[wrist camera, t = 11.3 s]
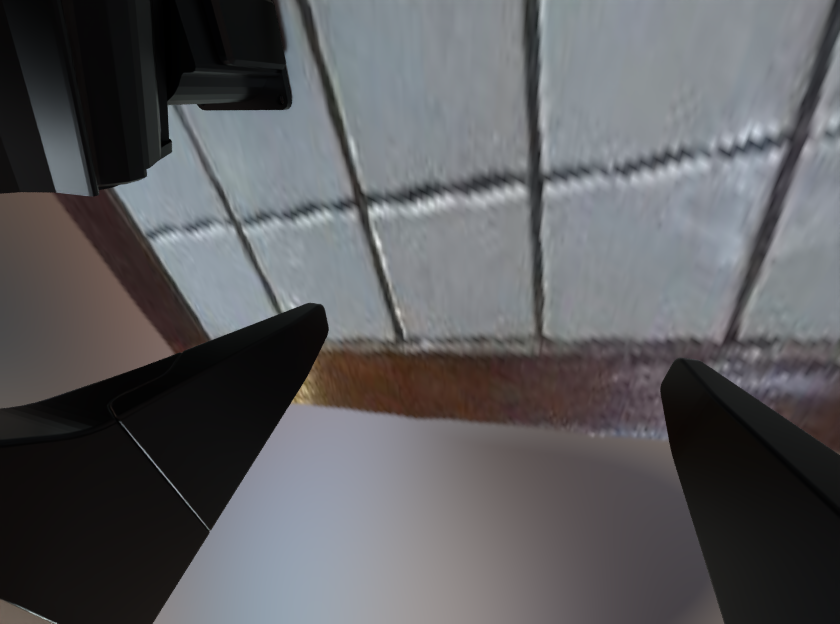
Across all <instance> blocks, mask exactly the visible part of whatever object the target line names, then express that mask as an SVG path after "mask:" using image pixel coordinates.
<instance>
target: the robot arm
mask: <svg viewBox="0 0 840 624" xmlns="http://www.w3.org/2000/svg"><path fill="white" fill-rule="evenodd" d="M285 64H286V63H285V57H284V52H283V47H282V42H281V37H280V32H279V27H278V21H277V16H276V11H275V6H274V4H273V2H272V0H0V193H15V192H57V193H66V194H75V195H85V196H97V195H99V190H102V189H107V188H112V187H115V186H118V185H121V184H128V183H131V182H135V181H139V180H141V179H143V178H145V177H146V176H147V170H146V169H148V168H150V167H151V166H153V165H154V164H155V163H156V162H157V161H159V160H160V159H162V158H163V157H165V156H167V155H168V154H170V153H171V152H172V141H171V139H169V127H168V106H167V105H183V104H197V105H198V106H199V108H201V109H202V110H286V109H289V108H290V107H291V104H292V99H291V94H290V89H289V84H288V78H287V73H286V68H285ZM281 95H282V97H283V99H284V103H282V102H281V100H280V96H281ZM328 331H329V327H328V322H327V317H326V313H325V309H324V307H323V305H321V304H315V303H307V304H304V305H302V306H299V307H296V308H294V309H291V310H289V311H286V312H284V313H281V314H278V315H276V316H273V317H271V318H268V319H265V320H263V321H260V322H258V323H255V324H252V325H250V326H247V327H245V328H242V329H240V330H237V331H234V332H232V333H229V334H227V335H224V336H221V337H219V338H216V339H214V340H211V341H208V342H206V343H203V344H201V345H198V346H196V347H193V348H190V349H188V350H185V351H183V353H177V354H175V355H172V356H170V357H167V358H164V359H162V360H159V361H156V362H154V363H151V364H148V365H146V366H143V367H140V368H137V369H134V370H132V371H129V372H126V373H123V374H120V375H117V376H114V377H112V378H108V379H106V380H102V381H100V382H97V383H93V384H90V385H87V386H84V387H81V388H79V389H75V390H72V391H70V392H67V393H64V394H61V395H58V396H55V397H52V398H49V399H45V400H42V401H39V402H35V403H31V404H27V405H23V406H16V407H10V408H1V409H0V624H153V622H154V621H155V619H156V617H157V616H158V614H159V613H160V611H161V609H162V608H163V606H164V605H165V603H166V601H167V600H168V598H169V597H170V595H171V593H172V592H173V590H174V589H175V587H176V585H177V584H178V582H179V581H180V579H181V577H182V576H183V574H184V573H185V571H186V569H187V568H188V566H189V565H190V563H191V562H192V560H193V558H194V557H195V555H196V554H197V552H198V550H199V549H200V547H201V546H202V544H203V543H204V541H205V539H206V538H207V536H208V535H209V531H210V530H211V529H212V528H213V526H214V525H215V523H216V521H217V520H218V518H219V516H220V515H221V513H222V511H223V510H224V509H225V507H226V505H227V504H228V502H229V501H230V499H231V498H232V496H233V494H234V493H235V491H236V490H237V488H238V486H239V485H240V483H241V482H242V480H243V478H244V477H245V475H246V474H247V472H248V470H249V469H250V467H251V466H252V464H253V462H254V461H255V459H256V458H257V456H258V455H259V453H260V451H261V450H262V448H263V447H264V445H265V443H266V442H267V440H268V439H269V437H270V435H271V434H272V432H273V431H274V429H275V427H276V426H277V424H278V423H279V421H280V419H281V418H282V416H283V415H284V413H285V411H286V409H287V408H288V407H289V405H290V404H291V402H292V400H293V399H294V397H295V396H296V394H297V392H298V391H299V389H300V388H301V386H302V384H303V383H304V381H305V379H306V378H307V376H308V374H309V372H310V370H311V368H312V366H313V364H314V362H315V360H316V358H317V356H318V354H319V352H320V350H321V348H322V345H323V343H324V341H325V339H326V337H327V335H328ZM660 392H661V398H662V404H663V409H664V415H665V421H666V426H667V432H668V437H669V443H670V448H671V452H672V456H673V459H674V463H675V466H676V470H677V472H678V476H679V479H680V482H681V486H682V489H683V492H684V495H685V498H686V502H687V505H688V508H689V511H690V515H691V518H692V521H693V524H694V527H695V531H696V534H697V537H698V540H699V544H700V547H701V550H702V553H703V556H704V560H705V563H706V566H707V569H708V573H709V576H710V579H711V582H712V585H713V589H714V592H715V595H716V598H717V601H718V604H719V608H720V611H721V614H722V618H723V621H724V624H840V455H839V454H837V453H836V452H834V451H833V450H831V449H830V448H828V447H827V446H826V445H824V444H823V443H821V442H820V441H818V440H817V439H815V438H814V437H812V436H811V435H809V434H808V433H806V432H805V431H803V430H802V429H800V428H799V427H797V426H796V425H794V424H793V423H792V422H790V421H789V420H787V419H786V418H784V417H783V416H781V415H780V414H778V413H777V412H775V411H774V410H772V409H771V408H769V407H768V406H766V405H765V404H763V403H762V402H760V401H759V400H758V399H756V398H755V397H753V396H752V395H750V394H749V393H747V392H746V391H744V390H743V389H741V388H740V387H738V386H737V385H735V384H734V383H732V382H731V381H729V380H728V379H727V378H725V377H724V376H722V375H721V374H719V373H718V372H716V371H715V370H713V369H712V368H710V367H709V366H707V365H706V364H704V363H703V362H701V361H699V360H694V359H687V358H678V359H676V360H675V361H674V362H673V364H672V365H671V367H670V369H669V371H668V372H667V374H666V376H665V378H664V380H663V381H662V384H661V389H660Z"/></svg>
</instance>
